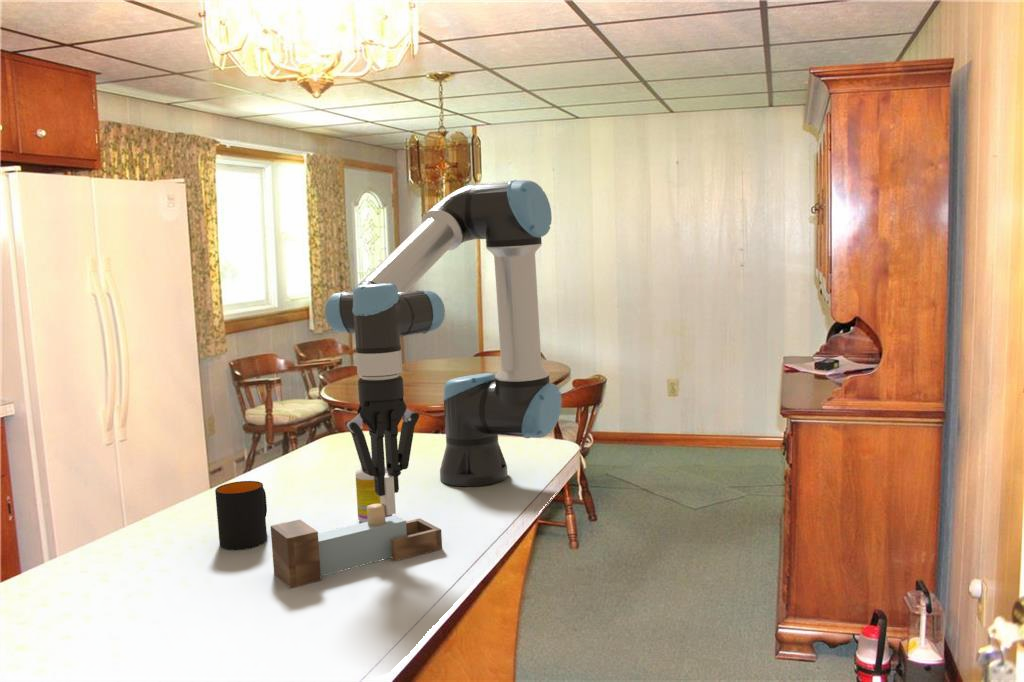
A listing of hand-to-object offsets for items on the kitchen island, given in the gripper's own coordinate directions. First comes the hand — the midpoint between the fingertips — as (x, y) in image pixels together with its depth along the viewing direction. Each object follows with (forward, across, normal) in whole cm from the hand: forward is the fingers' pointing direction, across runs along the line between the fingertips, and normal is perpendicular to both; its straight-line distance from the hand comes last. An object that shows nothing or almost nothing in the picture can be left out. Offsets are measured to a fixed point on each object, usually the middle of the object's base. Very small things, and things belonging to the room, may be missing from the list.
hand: (388, 512), depth 149 cm
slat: (+8, +7, 0) cm, 10 cm away
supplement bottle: (+7, -6, -19) cm, 21 cm away
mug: (+7, +17, -24) cm, 30 cm away
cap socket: (+7, +17, 0) cm, 18 cm away
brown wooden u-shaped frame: (+7, -3, 0) cm, 8 cm away
